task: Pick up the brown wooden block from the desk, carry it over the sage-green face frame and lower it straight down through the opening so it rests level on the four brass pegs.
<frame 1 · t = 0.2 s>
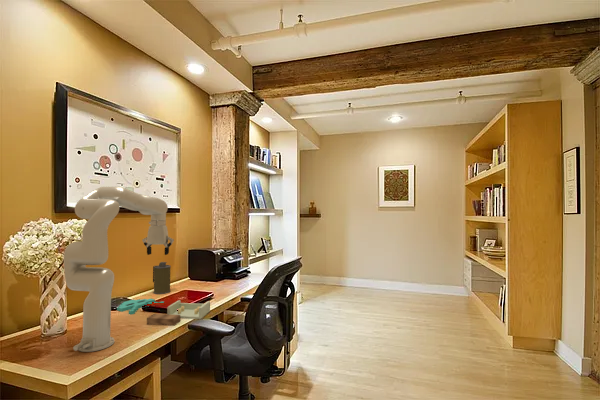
hand: (157, 254, 172), 31 cm above the table, fingers open, 9 cm apart
canister: (161, 292, 209), on the table
peg frame: (189, 314, 165), on the table
alien figure: (138, 307, 178), on the table
brown wooden block: (163, 323, 153), on the table
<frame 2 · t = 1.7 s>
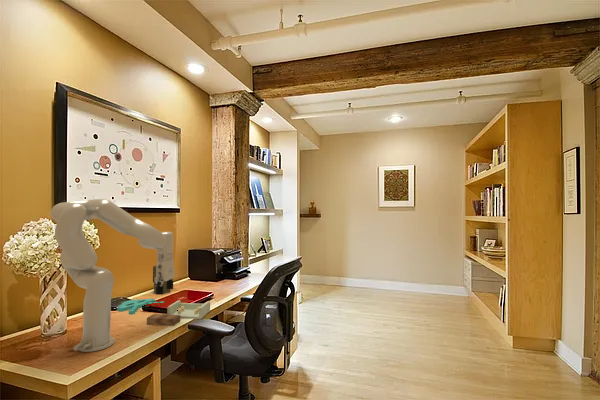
hand: (164, 291, 154), 15 cm above the table, fingers open, 9 cm apart
nothing on the table moved.
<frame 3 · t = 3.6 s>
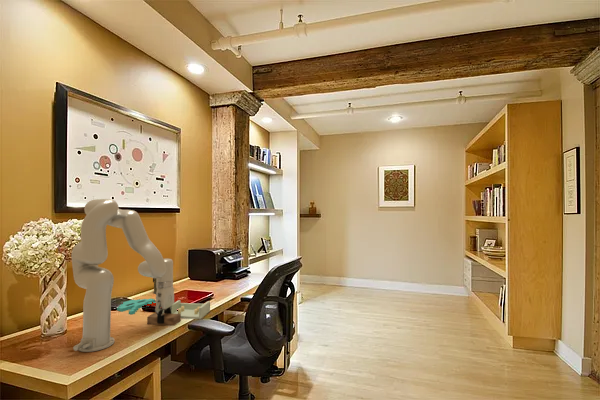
hand: (164, 320, 153), 1 cm above the table, fingers closed on brown wooden block, 6 cm apart
brown wooden block: (164, 322, 153), on the table, touching gripper
everything else where it was.
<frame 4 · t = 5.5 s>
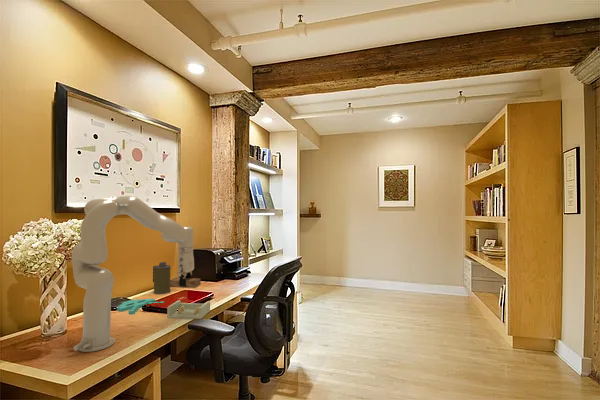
hand: (185, 284, 164), 16 cm above the table, fingers closed on brown wooden block, 6 cm apart
brown wooden block: (185, 286, 163), point 15 cm above the table, touching gripper
everything else where it was.
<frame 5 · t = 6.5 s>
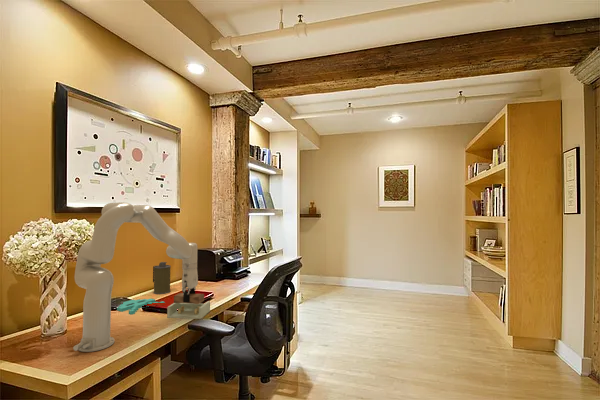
hand: (189, 299, 165), 8 cm above the table, fingers closed on brown wooden block, 6 cm apart
brown wooden block: (189, 301, 165), point 7 cm above the table, touching gripper
everything else where it was.
when the fingers open (5 cm above the table, at t = 7.4 s): brown wooden block stays where it is, resting on peg frame.
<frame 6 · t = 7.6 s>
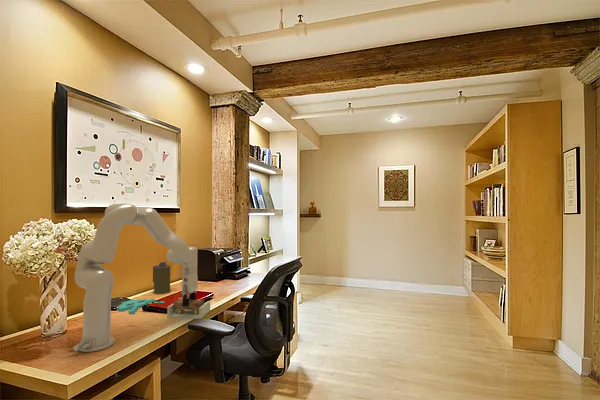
hand: (189, 303, 165), 6 cm above the table, fingers open, 8 cm apart
brown wooden block: (188, 307, 165), point 3 cm above the table, touching peg frame
everything else where it was.
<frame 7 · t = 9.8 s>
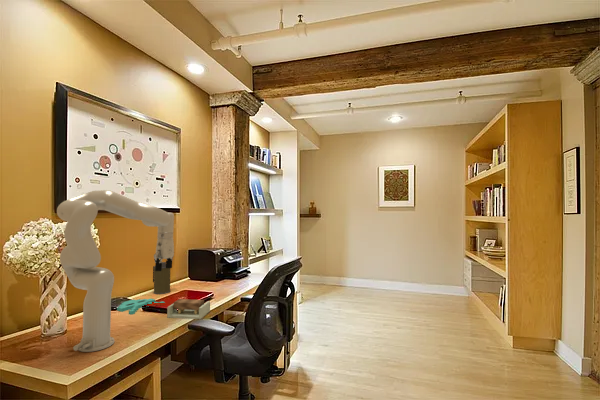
hand: (163, 269, 160), 25 cm above the table, fingers open, 9 cm apart
nothing on the table moved.
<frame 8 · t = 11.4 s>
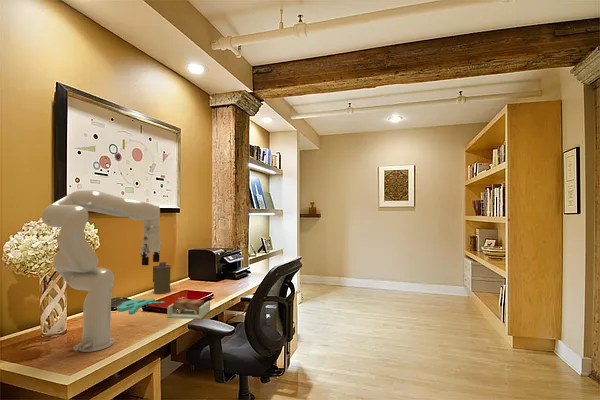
hand: (150, 263, 157), 28 cm above the table, fingers open, 9 cm apart
nothing on the table moved.
at the end: brown wooden block 0.2 cm off-centre on the peg frame, point 3.5 cm above the peg frame's base; brown wooden block tilted 0°; the gripper is holding nothing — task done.
